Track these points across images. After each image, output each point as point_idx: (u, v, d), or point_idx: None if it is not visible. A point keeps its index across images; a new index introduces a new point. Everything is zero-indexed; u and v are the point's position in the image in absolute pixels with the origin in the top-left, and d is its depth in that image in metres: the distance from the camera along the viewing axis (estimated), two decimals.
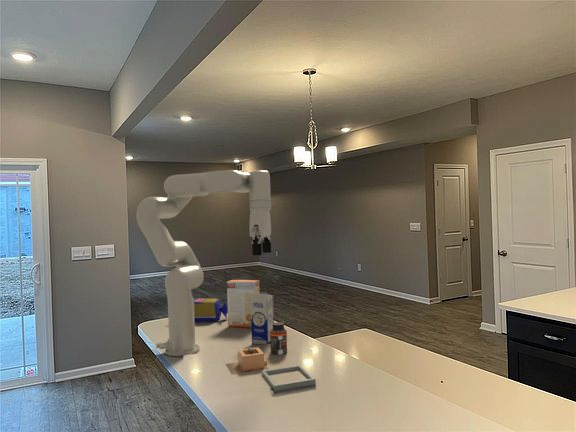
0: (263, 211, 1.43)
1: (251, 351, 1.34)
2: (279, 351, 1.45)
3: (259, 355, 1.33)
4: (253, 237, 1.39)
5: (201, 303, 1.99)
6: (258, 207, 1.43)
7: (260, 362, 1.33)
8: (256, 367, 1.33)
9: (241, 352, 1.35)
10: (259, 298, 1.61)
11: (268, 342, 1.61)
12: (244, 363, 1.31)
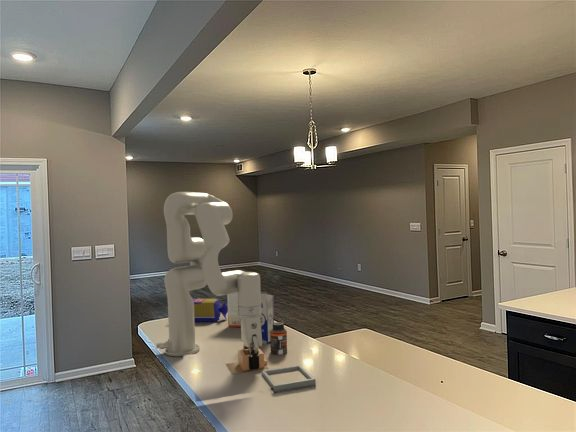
0: None
1: None
2: (279, 351, 1.45)
3: (259, 355, 1.33)
4: None
5: (200, 303, 1.99)
6: None
7: (260, 362, 1.33)
8: None
9: (241, 352, 1.35)
10: None
11: (268, 342, 1.61)
12: (244, 363, 1.31)
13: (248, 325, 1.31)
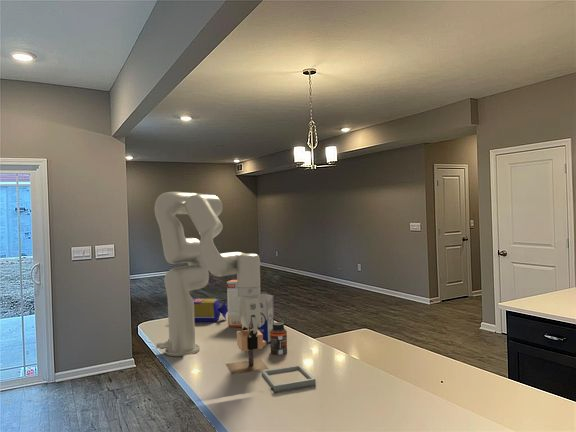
0: None
1: (251, 351, 1.34)
2: (279, 351, 1.45)
3: (258, 336, 1.33)
4: None
5: (200, 303, 1.99)
6: None
7: (259, 343, 1.33)
8: None
9: (240, 333, 1.35)
10: (259, 298, 1.61)
11: (268, 342, 1.61)
12: (243, 343, 1.32)
13: (247, 306, 1.31)
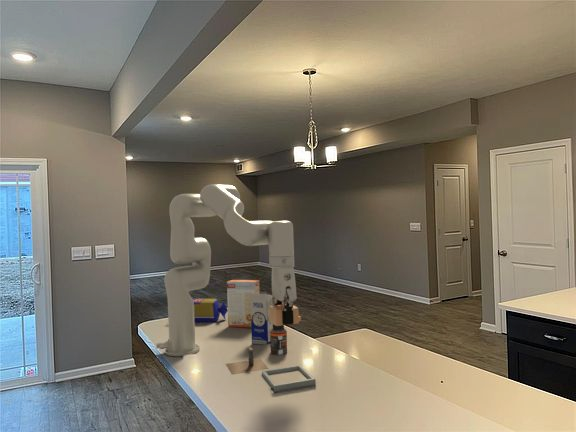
0: (272, 268, 1.26)
1: (251, 351, 1.34)
2: (279, 351, 1.45)
3: (293, 310, 1.22)
4: None
5: (199, 303, 1.99)
6: None
7: (294, 317, 1.22)
8: None
9: (273, 307, 1.24)
10: (259, 298, 1.61)
11: (268, 342, 1.61)
12: (277, 318, 1.20)
13: (281, 276, 1.20)
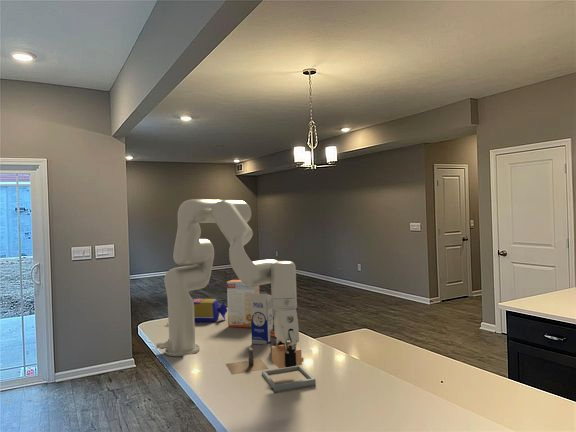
0: None
1: (251, 351, 1.34)
2: None
3: (296, 351, 1.21)
4: None
5: (199, 303, 1.99)
6: None
7: (297, 359, 1.21)
8: None
9: (275, 348, 1.23)
10: (259, 298, 1.61)
11: (268, 342, 1.61)
12: (280, 360, 1.20)
13: (284, 318, 1.19)
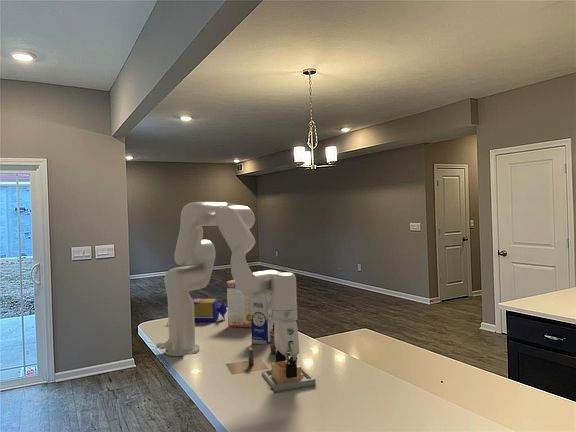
0: None
1: (251, 351, 1.34)
2: None
3: None
4: None
5: (199, 303, 1.99)
6: None
7: (297, 376, 1.21)
8: None
9: (275, 365, 1.23)
10: (259, 298, 1.61)
11: (268, 342, 1.61)
12: (280, 378, 1.20)
13: (284, 330, 1.19)
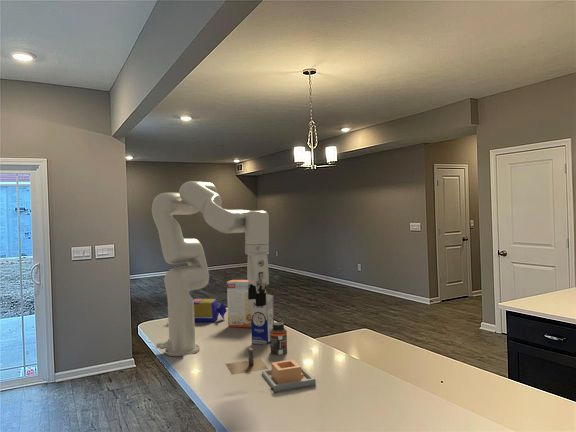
0: None
1: (251, 351, 1.34)
2: (279, 351, 1.45)
3: (296, 369, 1.21)
4: None
5: (198, 303, 1.99)
6: None
7: (297, 376, 1.21)
8: None
9: (275, 365, 1.23)
10: None
11: (268, 342, 1.61)
12: (280, 378, 1.20)
13: (255, 262, 1.28)
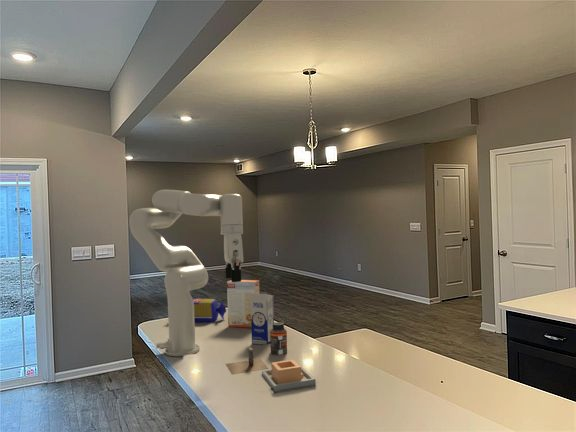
0: None
1: (251, 351, 1.34)
2: (279, 351, 1.45)
3: (296, 369, 1.21)
4: None
5: (198, 303, 1.99)
6: None
7: (297, 376, 1.21)
8: None
9: (275, 365, 1.23)
10: (259, 298, 1.61)
11: (268, 342, 1.61)
12: (280, 378, 1.20)
13: (230, 241, 1.37)
